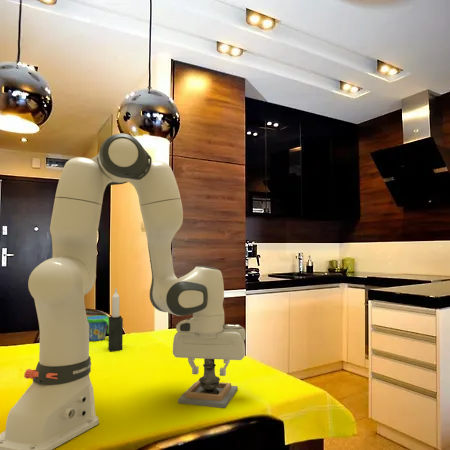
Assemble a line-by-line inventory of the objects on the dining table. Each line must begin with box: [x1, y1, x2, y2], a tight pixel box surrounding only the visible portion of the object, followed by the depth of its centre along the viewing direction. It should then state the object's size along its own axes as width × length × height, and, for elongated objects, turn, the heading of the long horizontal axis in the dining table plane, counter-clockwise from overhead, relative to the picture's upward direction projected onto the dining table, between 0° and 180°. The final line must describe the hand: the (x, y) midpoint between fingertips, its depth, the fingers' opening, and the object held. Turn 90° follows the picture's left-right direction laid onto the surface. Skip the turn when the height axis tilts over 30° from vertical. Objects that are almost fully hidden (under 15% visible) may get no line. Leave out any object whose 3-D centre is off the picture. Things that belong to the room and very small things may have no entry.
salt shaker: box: [198, 359, 221, 394], centre depth 104 cm, size 6×6×12 cm
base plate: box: [177, 379, 239, 409], centre depth 103 cm, size 13×13×2 cm
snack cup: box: [87, 315, 110, 342], centre depth 172 cm, size 16×10×10 cm
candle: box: [107, 288, 124, 353], centre depth 154 cm, size 5×5×25 cm
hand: (209, 374), depth 104 cm, fingers open, 6 cm apart
